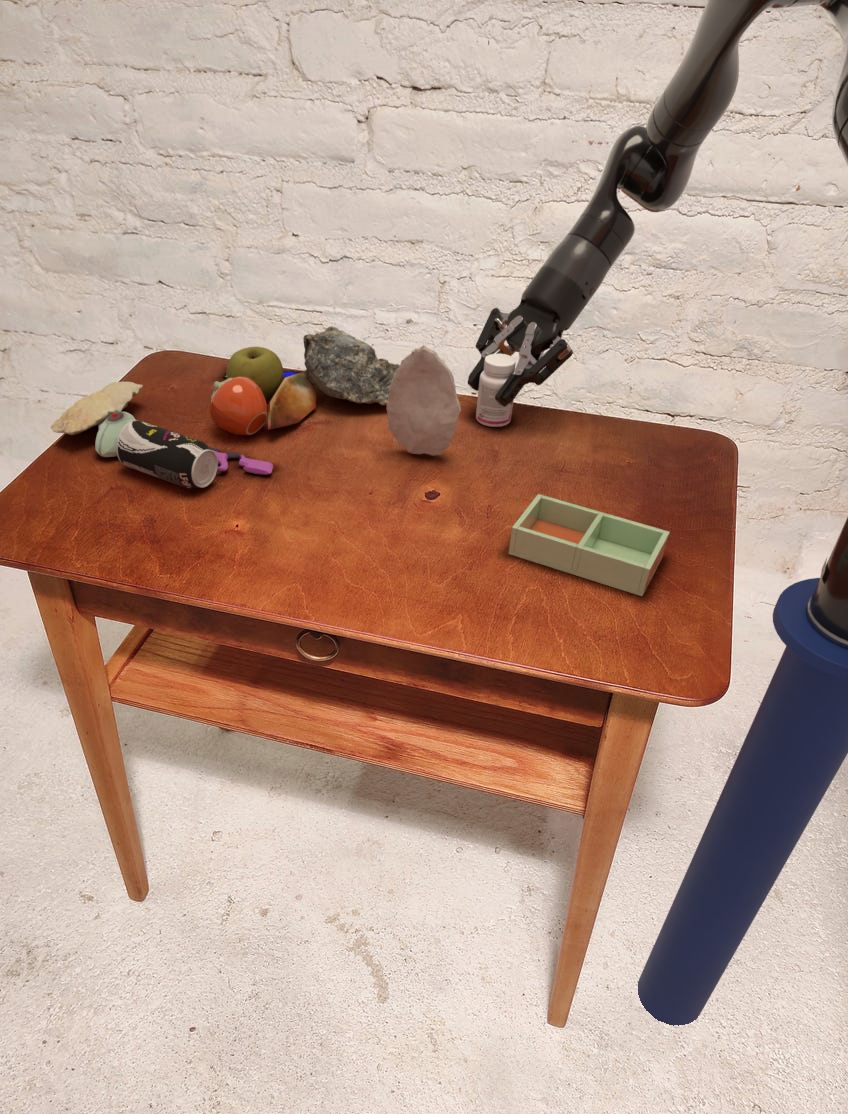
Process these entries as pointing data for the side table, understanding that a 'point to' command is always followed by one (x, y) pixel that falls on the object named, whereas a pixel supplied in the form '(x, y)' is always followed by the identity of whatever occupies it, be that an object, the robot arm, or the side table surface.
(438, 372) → the stone tool
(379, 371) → the rock
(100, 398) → the stone tool
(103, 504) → the side table surface
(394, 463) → the side table surface
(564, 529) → the divided tray
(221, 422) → the tomato
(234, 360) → the apple
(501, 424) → the pill bottle
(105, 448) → the robot head
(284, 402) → the decorative stone
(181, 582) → the side table surface
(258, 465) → the pink plastic clamp
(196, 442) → the beverage can
